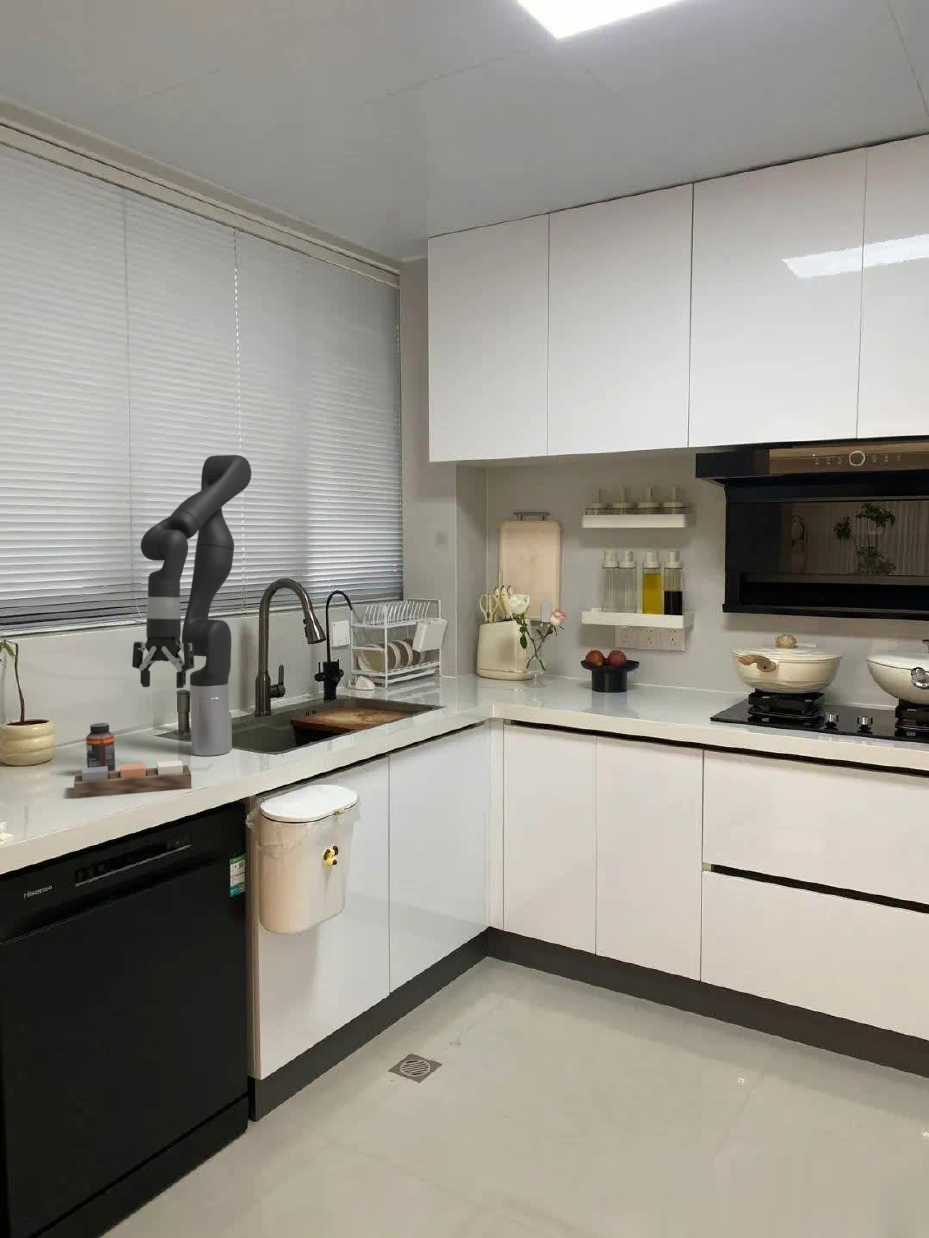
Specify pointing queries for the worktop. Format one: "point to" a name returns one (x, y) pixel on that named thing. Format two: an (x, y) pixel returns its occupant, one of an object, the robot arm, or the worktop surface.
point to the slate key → (95, 773)
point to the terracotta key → (132, 770)
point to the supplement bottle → (100, 747)
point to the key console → (131, 783)
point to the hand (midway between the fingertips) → (162, 687)
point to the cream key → (169, 767)
